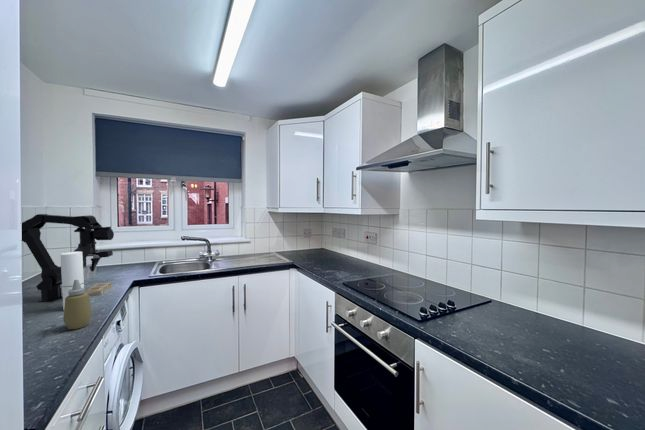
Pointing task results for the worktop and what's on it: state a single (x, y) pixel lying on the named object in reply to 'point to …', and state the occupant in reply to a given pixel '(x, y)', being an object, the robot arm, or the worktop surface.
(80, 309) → the squeeze bottle
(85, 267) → the clip
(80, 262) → the cylindrical container
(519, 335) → the worktop surface
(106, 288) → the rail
